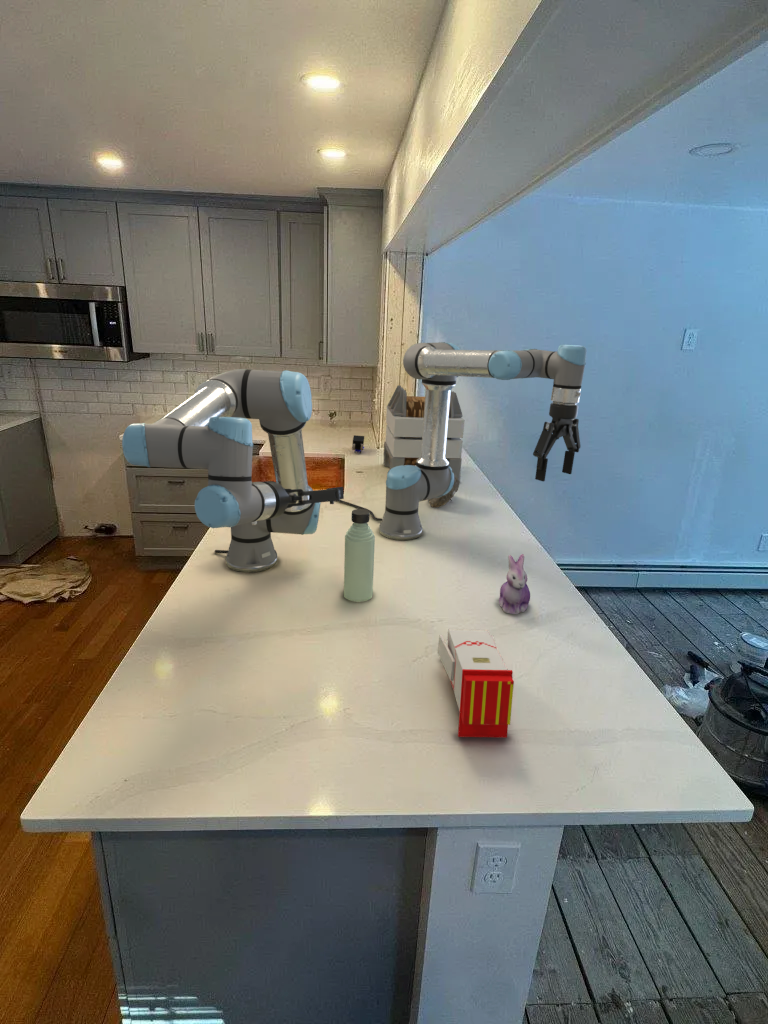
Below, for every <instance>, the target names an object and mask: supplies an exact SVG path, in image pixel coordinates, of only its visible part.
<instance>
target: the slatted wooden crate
mask: <svg viewBox="0 0 768 1024" xmlns="http://www.w3.org/2000/svg"><path fill="white" fill-rule="evenodd" d="M407 394H408V393H407V390H406V389H404V388H403V387H402V385H399V384H398V385H397V386H396V388H395V390H394V392H393V394H392V395H391V398H390V400H389V402H388V404H387V405H386V413H385V414H386V415H385V423H386V428H385V438H384V442H383V466H384V467H388V468H389V470H390V469H392V468H394V467H396V466H401V465H404V466H405V465H413V466H416V461H417V459H418V458H420V457H421V450H422V435H423V421H424V406H425V396H415V395H414V396H413V395H412V396H411V395H407ZM464 429H465V419H464V418H463V411H462V408H461V405H460V402H459V398H458V395H457V392H455V391H453V390H451V394H450V406H449V418H448V430H447V442H446V454H445V458H446V459H447V461H448V462H449V466H450V467H451V469H452V473H454V476H455V477H456V478H458V480H459V483H461V472H462V461H463V460H462V453H463V442H464V441H463V440H462V439H463V438H464V431H465V430H464Z"/></svg>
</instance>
